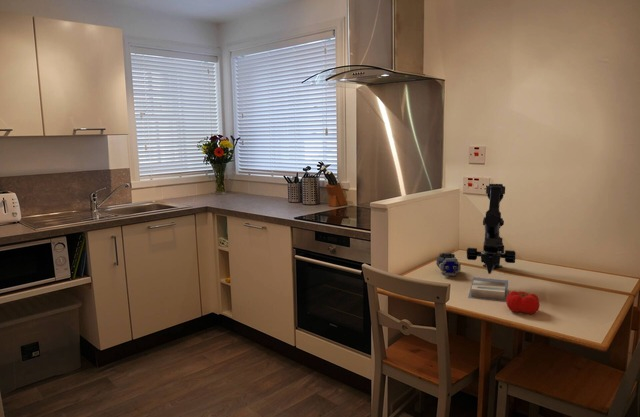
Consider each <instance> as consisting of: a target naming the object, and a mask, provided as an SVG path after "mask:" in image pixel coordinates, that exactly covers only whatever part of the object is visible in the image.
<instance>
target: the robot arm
mask: <svg viewBox="0 0 640 417" xmlns="http://www.w3.org/2000/svg"><path fill="white" fill-rule="evenodd" d="M485 194H487V198H488V201H489V205H488V206H489V207H488V209H487V211H486V212H485V217H483V220H482V225H483V226H484V241H483V249H482V250H481V251H478V248H477V247H467V249H466V259H467V260H469V261H476V260H478V257H480V261H481V263H483V265H482V266H483V267H485V268H486V271H487V274H489V275H490V274H492V273H493V270H495V269H499V268H502V267H503V265H501V264H500V263H501V259H504V262H505V263H506V264H507V263H509V264H515V263H516V251H515V250H511V249H506V250H505V245H504V243H503V240H504V239H503V237H501V236H500V229H501V227H503V226H504V225H505V221H504V219H503V217H502V212H501V211H500V207H501V206H500V203H501V202H502V201H503V199H504V195H506V185H503V183H489V184H488V185H486V187H485Z"/></svg>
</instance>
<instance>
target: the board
mask: <svg viewBox="0 0 640 417" xmlns="http://www.w3.org/2000/svg"><path fill="white" fill-rule="evenodd" d="M472 281H473V280H472ZM471 285H472V284H471ZM470 289H471V296H473V297H483V298H492V299H502V300H504V298H505V283H500V282H489V281H479V280H474V281H473V285H472V288H471V287H470Z"/></svg>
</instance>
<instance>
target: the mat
mask: <svg viewBox="0 0 640 417" xmlns="http://www.w3.org/2000/svg"><path fill="white" fill-rule="evenodd" d="M474 280H479V281H489V282H500V283H505V298H504V300H502V299H492V298H483V297H473V296H471V288H472V285H473V281H474ZM471 282H472V283H471V285H470V289H469V293H468V297H467V298H468V299H474V300H475V299H476V300H484V301H493V302H502V303H506V298H507V296H508V294H509V292H508V291H509V280H506V279H496V278H495V279H494V278H485V277H473V278H472V281H471Z"/></svg>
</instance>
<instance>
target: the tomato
mask: <svg viewBox="0 0 640 417" xmlns="http://www.w3.org/2000/svg"><path fill="white" fill-rule="evenodd" d="M505 303H506V305H507V307H508V310H509V311H512V312H514V313H524V314H527V315H529V314H535V313H537V312H538V311H539V309H540V299H539V297H538V295H537V294H535V293H529V292H526V291H523V290H522V291H521V290H519V291H516V290H512V291H510V292H508V295H507V298H506V302H505Z"/></svg>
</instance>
